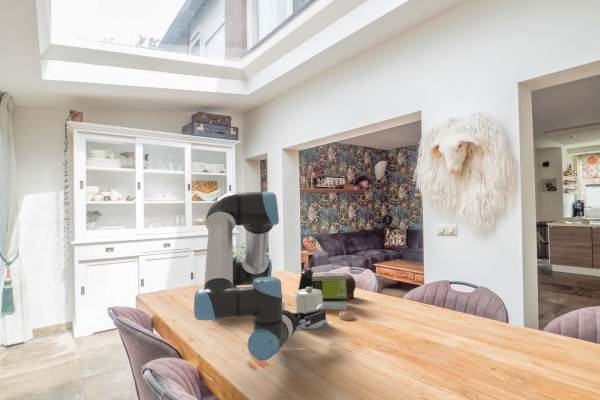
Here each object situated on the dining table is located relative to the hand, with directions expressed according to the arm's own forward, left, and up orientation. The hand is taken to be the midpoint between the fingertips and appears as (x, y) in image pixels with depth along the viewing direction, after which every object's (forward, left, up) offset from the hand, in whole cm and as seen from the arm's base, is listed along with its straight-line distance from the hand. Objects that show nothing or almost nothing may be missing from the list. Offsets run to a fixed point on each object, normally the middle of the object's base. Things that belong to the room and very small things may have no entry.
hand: (302, 306), depth 116 cm
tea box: (+14, +32, -10) cm, 36 cm away
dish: (+18, +14, -10) cm, 25 cm away
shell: (+23, +44, -10) cm, 51 cm away
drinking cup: (+2, +44, -9) cm, 45 cm away
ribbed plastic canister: (+3, +9, -9) cm, 14 cm away
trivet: (+3, +9, -10) cm, 14 cm away
